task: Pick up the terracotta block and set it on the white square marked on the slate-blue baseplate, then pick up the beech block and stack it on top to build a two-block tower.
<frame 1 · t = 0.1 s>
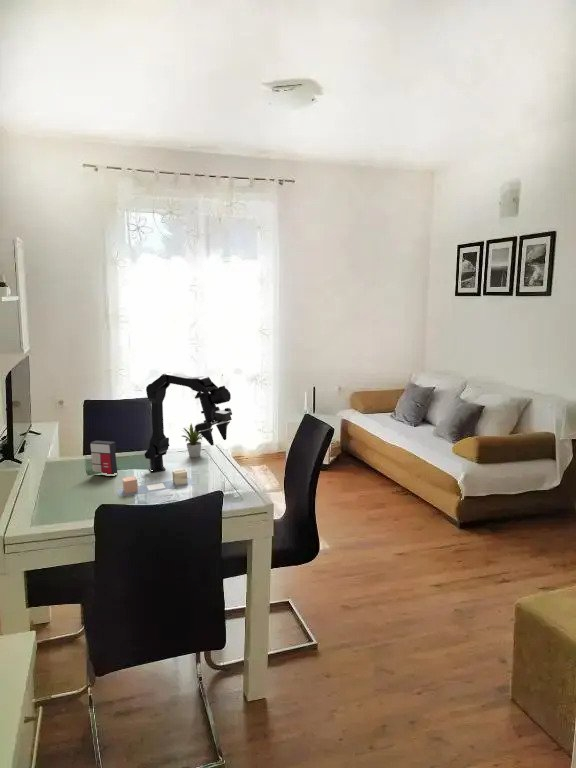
hand: (218, 442, 244), 15 cm above the table, tool pointing down, fingers open, 9 cm apart
beech block: (180, 482, 240), point 1 cm above the table, touching baseplate
terracotta block: (130, 490, 233), point 1 cm above the table, touching baseplate
house plant: (194, 457, 281), on the table
calculator: (105, 475, 258), on the table
baseplate: (156, 488, 236), on the table
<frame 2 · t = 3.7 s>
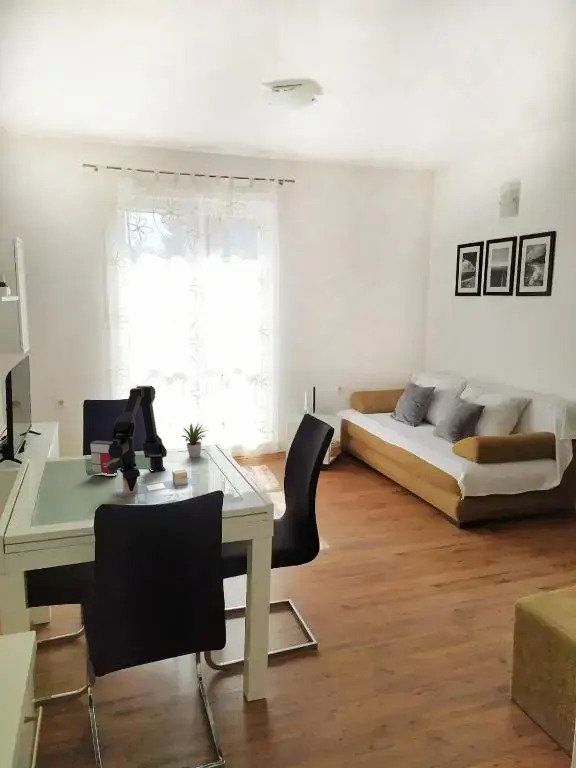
hand: (130, 489, 233), 2 cm above the table, tool pointing down, fingers closed on terracotta block, 5 cm apart
terracotta block: (130, 490, 233), point 1 cm above the table, touching baseplate, gripper
everything else where it was.
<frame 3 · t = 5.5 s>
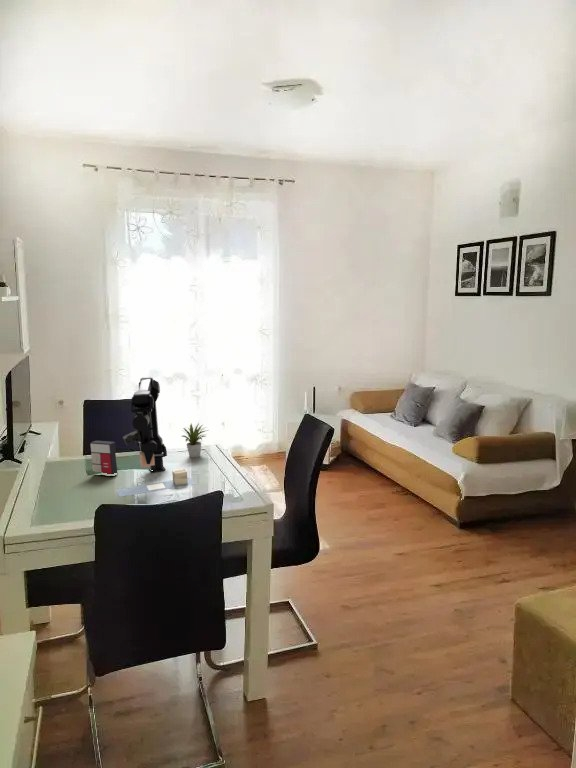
hand: (147, 462, 234), 11 cm above the table, tool pointing down, fingers closed on terracotta block, 5 cm apart
terracotta block: (147, 464, 234), point 11 cm above the table, touching gripper
everything else where it was.
when the fingers open (3 cm above the table, at t = 7.7 s): terracotta block drops 1 cm, resting on baseplate.
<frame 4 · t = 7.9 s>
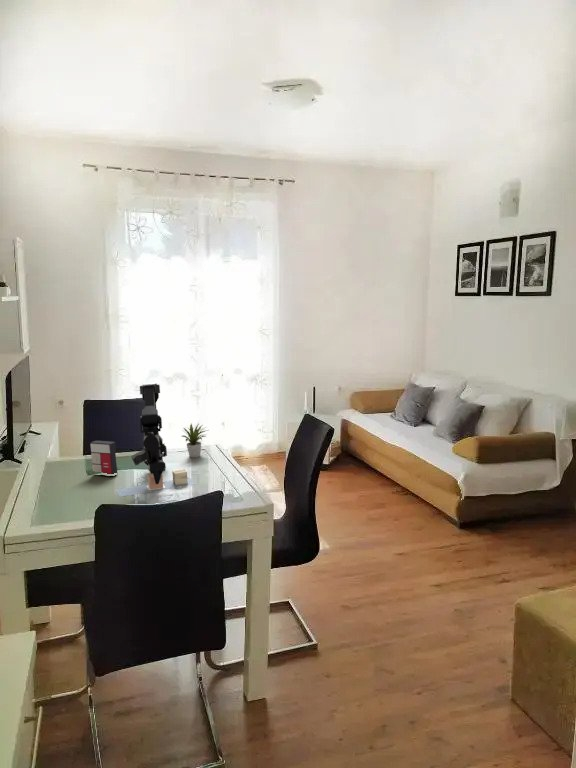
hand: (155, 481, 236), 3 cm above the table, tool pointing down, fingers open, 7 cm apart
terracotta block: (155, 486, 236), point 1 cm above the table, touching baseplate
everything else where it was.
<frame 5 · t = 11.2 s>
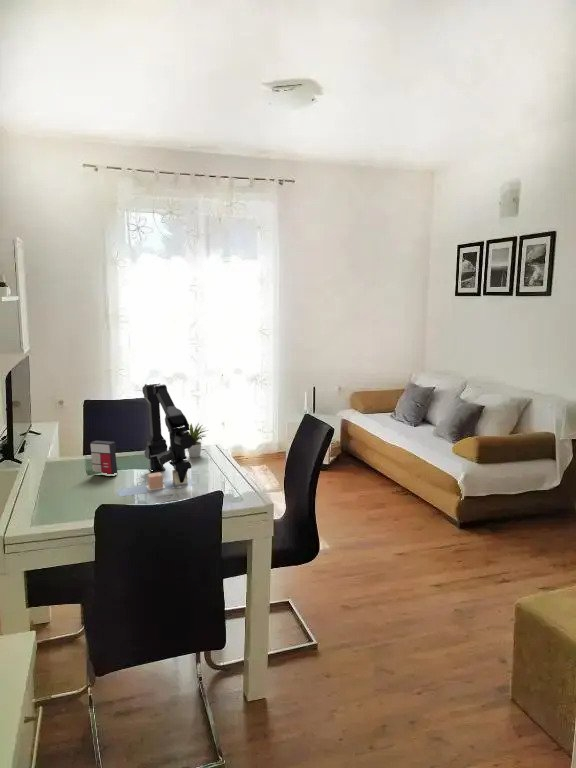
hand: (180, 480, 240), 2 cm above the table, tool pointing down, fingers closed on beech block, 5 cm apart
beech block: (180, 482, 240), point 1 cm above the table, touching baseplate, gripper
everything else where it was.
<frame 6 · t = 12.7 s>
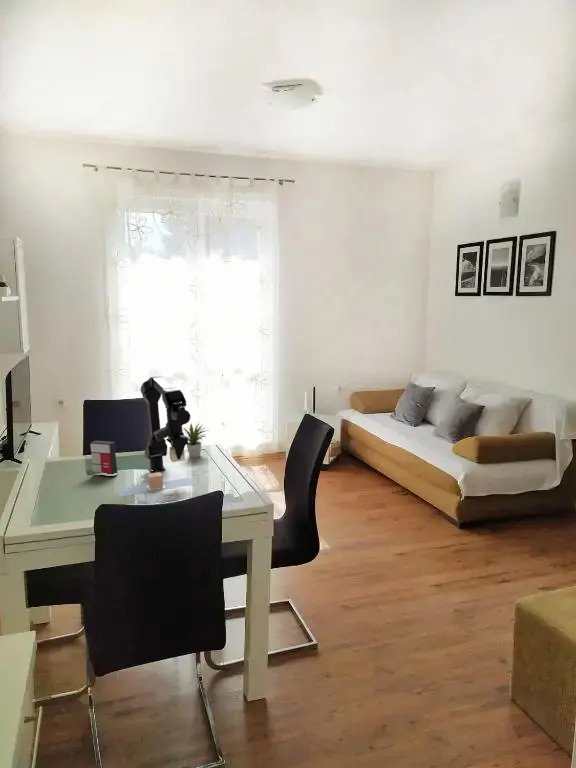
hand: (177, 457, 238), 12 cm above the table, tool pointing down, fingers closed on beech block, 5 cm apart
beech block: (177, 459, 238), point 11 cm above the table, touching gripper
everything else where it was.
when the fingers open (8 cm above the table, at t = 14.3 s): beech block drops 1 cm, resting on terracotta block.
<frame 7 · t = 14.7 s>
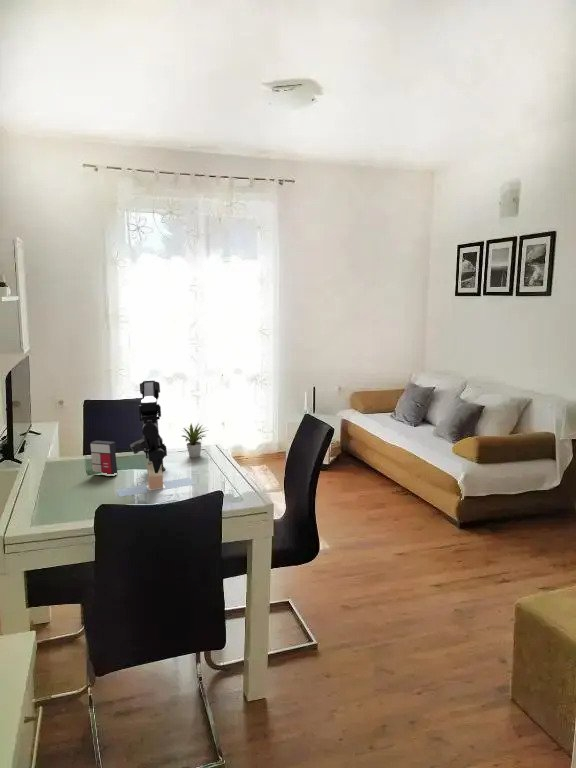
hand: (154, 470, 235), 8 cm above the table, tool pointing down, fingers open, 9 cm apart
beech block: (154, 474, 236), point 6 cm above the table, touching terracotta block
terracotta block: (155, 486, 236), point 1 cm above the table, touching baseplate, beech block
everything else where it was.
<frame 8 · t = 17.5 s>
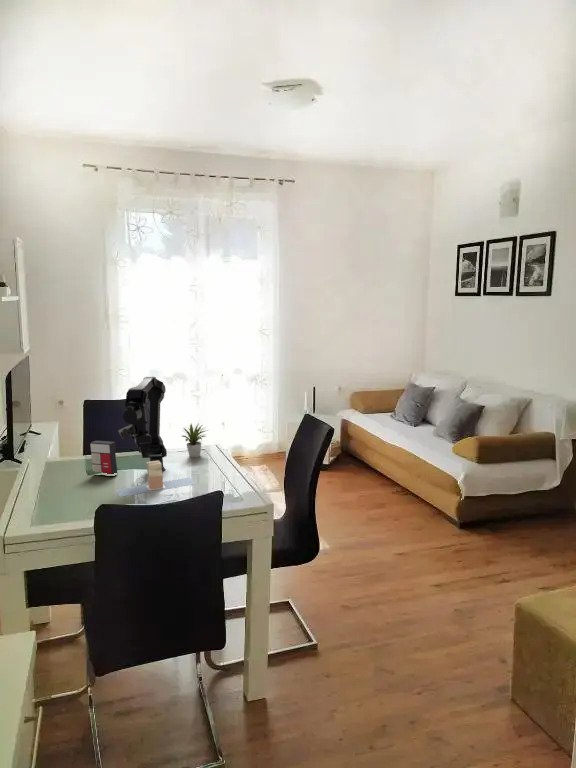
hand: (142, 455, 243), 12 cm above the table, tool pointing down, fingers open, 9 cm apart
nothing on the table moved.
at the end: terracotta block 0.0 cm off-centre on the baseplate, point 0.8 cm above the baseplate's base; beech block 0.0 cm off-centre on the terracotta block, point 5.0 cm above the terracotta block's base; beech block tilted 0° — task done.
